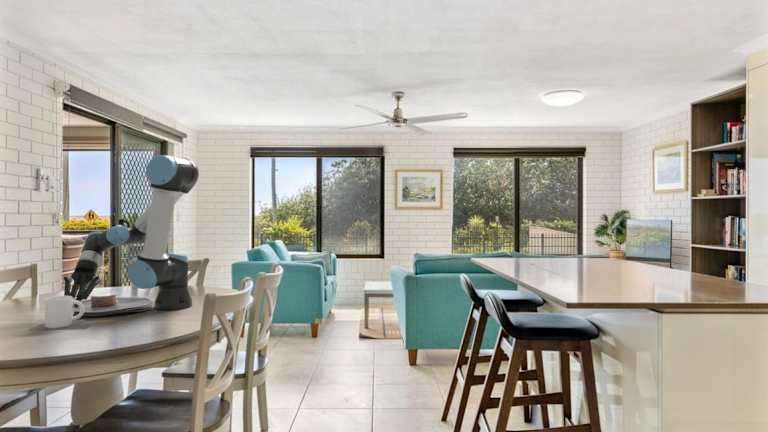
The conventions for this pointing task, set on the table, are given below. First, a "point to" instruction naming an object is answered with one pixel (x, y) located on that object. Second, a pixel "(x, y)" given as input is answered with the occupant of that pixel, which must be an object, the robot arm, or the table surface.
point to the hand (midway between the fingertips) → (69, 314)
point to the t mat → (74, 325)
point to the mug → (60, 311)
